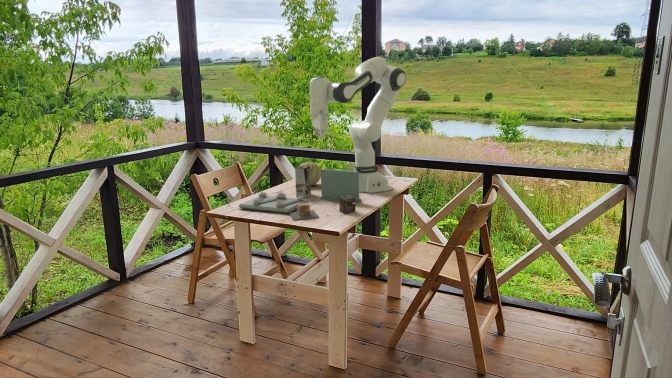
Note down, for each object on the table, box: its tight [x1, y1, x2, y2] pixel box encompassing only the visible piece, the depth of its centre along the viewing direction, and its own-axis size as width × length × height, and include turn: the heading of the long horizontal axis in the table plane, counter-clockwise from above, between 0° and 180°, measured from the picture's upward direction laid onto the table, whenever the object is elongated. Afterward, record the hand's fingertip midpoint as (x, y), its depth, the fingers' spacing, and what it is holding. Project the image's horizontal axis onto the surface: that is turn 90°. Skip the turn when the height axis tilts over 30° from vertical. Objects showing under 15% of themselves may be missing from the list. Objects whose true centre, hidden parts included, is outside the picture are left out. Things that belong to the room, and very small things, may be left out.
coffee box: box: [294, 165, 312, 198], centre depth 267 cm, size 9×6×16 cm
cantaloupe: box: [299, 160, 321, 187], centre depth 291 cm, size 15×15×15 cm
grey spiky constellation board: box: [238, 190, 310, 214], centre depth 246 cm, size 30×22×7 cm
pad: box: [288, 209, 320, 221], centre depth 229 cm, size 12×12×1 cm
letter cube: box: [296, 202, 311, 216], centre depth 228 cm, size 5×5×5 cm
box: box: [338, 196, 356, 215], centre depth 233 cm, size 6×6×7 cm
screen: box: [319, 168, 362, 205], centre depth 254 cm, size 22×6×16 cm, turn 60°
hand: (320, 137), depth 243 cm, fingers open, 8 cm apart
